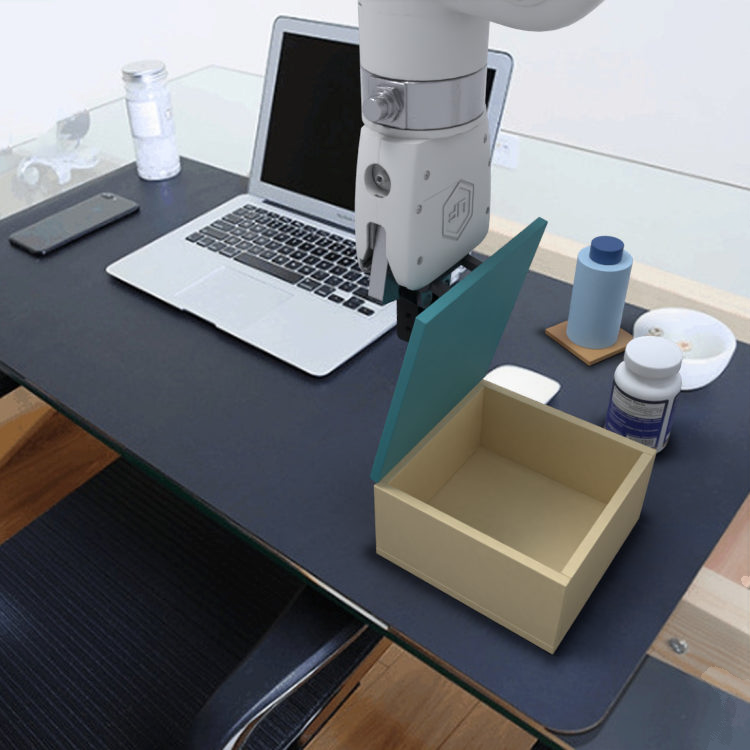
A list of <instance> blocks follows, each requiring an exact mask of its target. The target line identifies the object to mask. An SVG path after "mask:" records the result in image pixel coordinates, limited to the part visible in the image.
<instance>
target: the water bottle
mask: <svg viewBox="0 0 750 750" xmlns="http://www.w3.org/2000/svg"><path fill="white" fill-rule="evenodd" d="M575 263H576V264H575V271H574V279H573V283H572V291H571V298H570V305H569V311H568V316H567V320H568V323H567V330H566V334H567V336H568V338H569V339H570V340H571V341H572V342H573V343H575V344H576V345H578V346H581V347H584V348H588V349H604V348H608V347H610V346H612V345H614V344H615V343H616V341H617V339H618V334H619V329H620V328H621V324H622V319H623V313H624V309H625V303H626V298H627V294H628V290H629V284H630V279H631V274H632V268H633V264H634V258H633V256H632V254H631V253H629V252H628V250H626V249H625V243H624V241H623V240H622V239H620V238H618V237H616V236H613V235H612V236H611V235H599V236H596V237H594V238H593V239H592V240H591V241H590V245H588V246H587V245H586V246H585V247H583V248H581V249H580V250H579V251H578V252H577V257H576V262H575Z"/></svg>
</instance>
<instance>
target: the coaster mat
mask: <svg viewBox="0 0 750 750" xmlns="http://www.w3.org/2000/svg"><path fill="white" fill-rule="evenodd" d="M567 323H568V319H567V320H565V321H562V322H560V323H558V324H555V325H553V326H550V327H547V328H545V330H544V331H545V332H544V333H545V335H547V336H548V337H549V338H551V339H552V340H553V341H555V342H556V343H557V344H559V345H560V346H561V347H563V348H564V349H565V350H567V351H568V352H569V353H571V354H572V355H573V356H575V357H576V358H577V359H579V360H580V361H582V362H583V363H585V364H586V365H587V366H588V367H590V366H592V365H595V364H598V363H600V362H601V361H604V360H606V359H609V358H611V357H613V356H616V355H618V354H621V353H622V352H625V349H626V346H627V344H628V343H629V342H630V341H631V340H633V336H634V335H632V334H630V333H629V332H628V331H626V330H624V329H623V328H621V327H620V329H619V334H618V339H617V341H616V343H615V344H614V345H612V346H610V347H608V348H604V349H588V348H584V347H581V346H578V345H576V344H575V343H573V342H572V341H571V340H570V339H569V338H568V336H567V334H566V330H567Z"/></svg>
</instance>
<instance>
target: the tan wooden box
mask: <svg viewBox="0 0 750 750" xmlns="http://www.w3.org/2000/svg"><path fill="white" fill-rule="evenodd" d="M656 452H657V450H655V449H652V448H650V447H647V446H645V445H643V444H640V443H638V442H635V441H633V440H630V439H628V438H626V437H623V436H621V435H618V434H616V433H613V432H611V431H608V430H606V429H604V427H601V426H598V425H597V424H594V423H591V422H589V421H586V420H584V419H582V418H579V417H577V416H574V415H572V414H569V413H567V412H565V411H563V410H560V409H557V408H556V407H555V408H554V407H553V406H550V405H547V404H545V403H542V402H540V401H538V400H535V399H533V398H530V397H528V396H525V395H523V394H520V393H518V392H516V391H513V390H510V389H508V388H506V387H503V386H501V385H499V384H496V383H493V382H491V381H490V380H489V381H488V380H487V379H485V378H483V379H482V380H481V381H480V382H479V383H478V384H477V385H476V386H475V387H474V388H473V389H472V390H471V391H470V392H469V393H468V394H467V395H466V396H465V397H464V398H463V399H462V400H461V401H460V402H459V403H458V404H457V405H456V406H455V407H454V408H453V409H452V410H451V411H450V412H449V413H448V414H447V415H446V416H445V417H444V418H443V419H442V420H441V421H440V422H439V423H438V424H437V425H436V426H435V427H434V428H433V429H432V430H431V431H430V432H429V433H428V434H427V435H426V436H425V437H424V438H423V439H422V440H421V441H420V442H419V443H418V444H417V445H416V446H415V447H414V448H413V449H412V450H411V451H410V452H409V453H408V454H407V455H406V456H405V457H404V458H403V459H402V460H401V461H400V462H399V463H398V464H397V465H396V466H395V467H394V468H393V469H392V470H391V471H390V472H389V473H388V474H387V475H386V476H385V477H384V478H383V479H382V480H381V481H380V482H379V483H376V482H375V484H374V485H373V493H374V495H373V496H374V497H373V498H374V524H375V527H374V528H375V549H376V551H375V553H376V555H379V556H381V557H382V558H384V559H385V560H388V561H390V562H391V563H392V564H394V565H396V566H397V567H399V568H401V569H403V570H405V571H406V572H408V573H410V574H411V575H413V576H414V577H417V578H419V579H420V580H422V581H424V582H426V583H428V584H429V585H431V586H433V587H434V588H435V589H438V590H440V592H441V591H442V592H443V593H445V594H447V595H448V596H450V597H451V598H454V599H455V600H457V601H458V602H460V603H462V604H464V605H466V606H468V607H469V608H471V609H473V610H474V611H476V612H478V613H480V614H481V615H483V616H485V617H487V618H488V619H490V620H492V621H493V622H495V623H497V624H498V625H501V627H504V628H505V629H507V630H509V631H511V632H513V633H515V634H516V635H518V636H519V637H522V638H523V639H524V640H527V641H529V642H530V643H532V644H533V645H535V646H536V647H539V648H540V649H542V650H544V651H546V652H547V653H549V654H551V655H554V654H555V652H556V650H557V649H558V647H559V646H560V644H561V642H562V641H563V640H564V637H565V636H566V635H567V632H568V631H569V630H570V628H571V627H572V625H573V624H574V622H575V621H576V620H577V617H578V616H579V614H580V612H581V611H582V610H583V608H584V606H585V605H586V603H587V601H588V600H589V598H590V597H591V595H592V593H593V592H594V590H595V589H596V587H597V585H598V584H599V582H600V581H601V579H602V578H603V576H604V574H605V573H606V571H607V570H608V568H609V567H610V565H611V564H612V562H613V561H614V559H615V557H616V555H617V554H618V552H619V551H620V549H621V548H622V546H623V545H624V543H625V541H626V540H627V538H628V537H629V535H630V533H631V532H632V530H633V528H634V527H635V526H636V524H637V522H638V520H639V519H640V515H641V512H642V510H643V509H642V508H643V505H644V501H645V497H646V494H647V490H648V486H649V483H650V479H651V475H652V471H653V467H654V463H655V459H656V455H657V453H656Z"/></svg>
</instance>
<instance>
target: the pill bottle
mask: <svg viewBox="0 0 750 750" xmlns="http://www.w3.org/2000/svg"><path fill="white" fill-rule="evenodd" d="M683 358H684V354H683V352H682V349H681V347H679V345H678V344H676V342H673V341H671V340H670V339H666V338H664V337H661V336H657V335H656V336H654V335H643V336H638V337H635V339H633V340H631V341H630V342H629V343H628V344H627V346H626V349H625V351H624V355H623V361H621V362H620V363H619V364H618V365H617V366H616V368H615V371H614V373H613V379H612V384H611V390H610V394H609V400H608V406H607V410H606V416H605V423H604V426H603V428H604V429H606V430H608V431H611V432H613V433H616V434H618V435H621V436H623V437H626V438H628V439H630V440H633V441H635V442H638V443H640V444H643V445H645V446H647V447H650V448H652V449H655V450H657V452H656V454H658V453H660V452H661V451H663V449H665V447H666V446H667V444H668V441H669V438H670V435H671V431H672V428H673V427H672V426H673V422H674V419H675V414H676V411H677V408H678V403H679V399H680V395H681V391H682V387H683V379H682V376H681V373H680V371H681V368H682V363H683Z"/></svg>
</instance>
